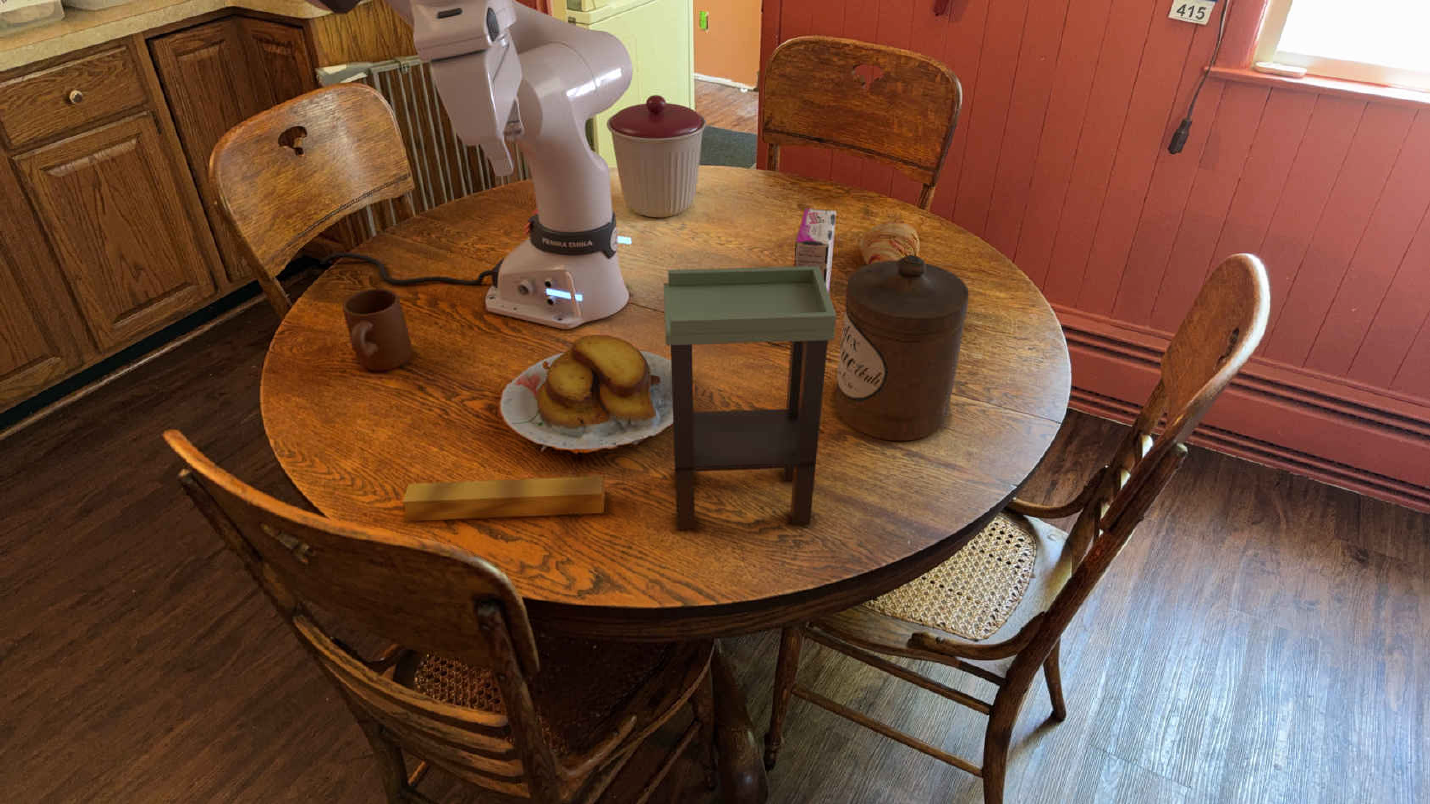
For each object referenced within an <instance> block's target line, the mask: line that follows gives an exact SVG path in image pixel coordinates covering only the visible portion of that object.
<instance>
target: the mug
mask: <svg viewBox="0 0 1430 804" xmlns="http://www.w3.org/2000/svg"><path fill="white" fill-rule="evenodd" d="M342 310H343V311H342V312H343V316H344V320H345V324H346V327H347V331H348V334H349V337H350V341H351V347H352V350H353V352H354V354H355V356H356V360H357V362H358V364H359V365H360V366H361V367H362V368H363V369H365V370H368V371H372V372H386V371H392V370H394V369H397V368H399V367H401V366H403V365H405V364H406V363H407V362H408V361H409V360H410V359H411V357H412V355H413V346H412V342H411V338H410V334H409V329H408V325H407V321H406V317H405V313H404V309H403V305H402V303H401V300H400V297H399V295H398V294H397V293H396V292H395V291H393V290H391V289H387V288H370V289H366V290H361V291H358V292H356V293H354V294H351V295H350V296H348V297H347V298H346V299H345V300H344V302H343V303H342Z"/></svg>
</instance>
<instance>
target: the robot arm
mask: <svg viewBox="0 0 1430 804" xmlns="http://www.w3.org/2000/svg"><path fill="white" fill-rule="evenodd" d="M304 1H305V2H306V3H308V4H309V5H311V6H312V7H314V8H317V9H319V10H323V11H324V12H325V11H326V12H331V13H333V14H335V15H347V14H349V13H350V12H351V11H353V10H354V9H355V8H356V7H357V6H358V5H359V4H360V3H361V2H362V0H304ZM383 1H384V2H385V3H386V4H387V6H388V7H390V9H391V10H393V12H394V13H395V14H396V15H397V16H398V17H399V18H400V19H401V20H402V21H404V22H405V23H406V24H407V26H409V27H410V28H411V29H412V30H413V35H412V39H413V40H412V41H413V45H414V48H415V51H416V54H417V56H418V58H419V60H420V61H421V62H429V67H430V73H431V77H432V79H433V82H434V85H435V87H436V90H437V93H438V95H439V97H440V100H441V102H442V104H443V107H444V110H445V111H446V114H447V117H448V118H449V121H450V123H451V125H452V127H453V130H454V131H455V134H456V135H457V136H458V138H459V139H460V141H461V142H462V143H463V144H464V146H466V147H475V146H478V145H479V146H480V148H481V150H482V151H483V153H484V154H485V155H486V157H487V158H488V160H489V161H490V164H491V167H492V170H493V172H494V175H495V176H496V177H506V176H510V175H512V174H513V172H514V170H515V169H514V168H515V162H514V160H513V155H512V153H511V151H510V150H508V148H507V145H506V142H505V139H506V140H507V142H511V143H514V144H515V145H516V146H517V147H518V148H519V150H520V151H521V153H522V155H523V156H524V158H525V161H526V163H527V165H528V168H529V172H530V174H531V179H532V185H533V190H534V197H535V205H536V208H535V209H533V212H532V213H533V214H532V216H531V217H530V218H528V219H527V224H526V225H525V226H524V228H523V231H524V236H525V237H526V236H527V235H529V237H527V238H526V239H525V240H524V241H522V242H521V243H519V244H518V245H517V246H516V247H514V248H513V249H512V250H511V251H510V252H509V253H507V255H506V256H505V258H502V259H501V260H499V261H498V262H497V264H495V266H493V268H492V269H489V270H485V271H482V272H480V273H479V275H478V277H477V279H473V280H463V279H458V278H454V277H448V276H424V277H416V278H408V279H397V278H392V277H389V276H388V275H387V274H386V270H385V266H384V264H383V263H382V261H380V260H379V259H377V258H373V257H371V256H367V255H363V254H359V253H353V252H352V253H351V252H336V253H332V254H329V255H327V256H325V257H323V258H322V259H321V261H320V265H326V264H328V263H329V262H330V261H332V260H335V259H342V258H343V259H344V258H345V259H354V260H360V261H364V262H367V263H370V264H374V265H376V266H377V267H378V270H379V275H380V278H381V279H382V280H383V281H384V282H387V283H388V284H392V285H398V286H399V285H401V286H404V285H405V286H406V285H415V284H423V283H433V282H434V283H435V282H436V283H437V282H438V283H439V282H440V283H448V284H453V285H461V286H477V285H480V284H482V283H483V281H484V279H485V277H488V276H490V277H491V283H492V285H491V286H490V288H489V289H488V291H487V293H486V296H485V309H486V311H487V312H489V313H493V314H497V315H502V316H505V317H506V316H507V317H509V318H514V319H519V320H524V321H526V322H531V323H534V324H535V323H536V324H539V325H544V326H547V327H553V328H555V329H556V328H557V329H561V330H571V329H574V328H576V327H578V326H581V325H583V324H585V323H588V322H593V321H598V320H601V319H605V318H608V317H610V316H613V315H614V314H616V313H618V312H619V311H621V310H622V309H623V308H624V307H625V306H626V305H627V303H628V302H629V298H630V293H629V291H628V289H627V285H626V282H625V281H624V277H623V273H622V271H621V267H620V262H619V257H618V247H619V243H620V244H628V245H631V244H632V237H627V236H619V231H618V225H617V219H616V213H615V212H614V210H613V202H612V201H613V200H612V188H611V186H612V185H611V175H610V168H609V165H608V162H607V161H606V160H605V158H604V157H602V155H600V154H599V153H597V152H595V151H594V150H592V149H591V147H590V144H589V142H588V139H587V134H586V123H587V121H588V120H590V119H592V118H594V117H596V116H598V115H600V114H602V113H603V112H605V111H607V110H609V109H611V108H612V107H613V106H614V105H615V104H616V103H617V102H618V101H619V100H620V99H621V98H622V96H624V94H625V93H626V92H627V90H628V89H629V87H630V86H631V83H632V80H633V63H632V59H631V56H630V53H629V52H628V50H627V48H626V46H625V45H624V43H623V42H622V41H621V40H620V39H619V38H618V37H617V36H615V34H612V33H610V32H607V31H605V30H596V29H590V28H585V27H582V26H578V25H575V24H572V23H570V22H567V21H565V20H562V19H559V18H557V17H554V16H552V15H549V14H547V13H544V12H542V11H539V10H536V9H535V8H532V7H529V6H527V5H524V4H523V3H521V2H519V1H516V0H383Z"/></svg>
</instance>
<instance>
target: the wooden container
mask: <svg viewBox="0 0 1430 804" xmlns="http://www.w3.org/2000/svg"><path fill="white" fill-rule="evenodd" d="M969 293H970V292H969V288H968V286H967V284H966V283H965V282H964V281H963V280H962V279H961V278H960V277H958V276H957V275H956V274H954V272H950V271H948V270H947V269H944V268H942V267H939V266H937V265H933V264H929V263H926V262H925V261H924V260H923V259H922V258H921V257H919V256H915V255H908V256H906V257H903V258H901V259H900V260H888V261H880V262H875V263H871V264H868V265H867V264H865V265H863V266H861V267H859V268H857V269H856V270H854V271H853V272H852V273H851V274H850V276H849V278H848V279H847V284H846V292H845V303H844V305H845V307H844V309H845V310H844V315H843V323H842V324H843V325H842V333H841V340H840V347H839V355H838V364H837V374H836V387H835V397H834V398H835V399H834V404H835V408H836V412H837V413H838V415H839V417H840V418H841V419H842V420H843V421H844V422H845V423H846V424H847V425H848V426H850V427H851V428H853V429H855V430H856V431H858V432H860V433H862V434H864V435H867V436H870V437H873V438H876V439H882V440H887V441H899V442H900V441H913V440H919V439H922V438H925V437H928V436H931V435H932V434H933V433H936V432H937V431H938V430H940V428H941V427H942V426H943V425H944V424H945V422H946V420H947V417H948V413H949V407H950V402H951V397H952V394H953V388H954V384H955V379H956V373H957V367H958V363H959V362H958V361H959V355H960V349H961V344H962V338H963V332H964V326H965V320H966V317H967V312H968V307H969V297H970V294H969Z"/></svg>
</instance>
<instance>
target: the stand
mask: <svg viewBox="0 0 1430 804" xmlns="http://www.w3.org/2000/svg"><path fill="white" fill-rule="evenodd" d="M667 276H668V278H667V280H668V282H665V283H663V303H664V304H663V305H664V306H663V309H664V337H665V339H664V340H665V346H670V360H671V371H672V401H673V423H672V427H673V430H672V431H673V455H674V456H673V457H674V458H673V459H674V461H673V462H674V485H675V511H676V512H675V513H676V530H677V531H690V530H695V529H696V516H695V515H696V513H695V512H696V508H695V506H696V505H695V503H696V501H695V473H696V472H718V471H719V472H720V471H749V470H770V469H771V470H773V469H781V472H782V477H783V480H784V482H792V484H791V485H792V486H791V487H792V488H791V500H790V512H789V514H790V519H791V524H792V526H803V525H804V526H807V525H810V524H811V519H812V509H813V498H814V488H815V478H816V467H817V458H818V457H817V456H818V446H819V435H820V426H821V417H822V416H821V414H822V406H823V395H824V385H825V376H826V364H827V354H828V343H829V341H834V340H835V335H836V334H835V333H836V325H837V314H836V311H835V308H834V305H833V302H832V299H831V296H830V292H829V293H828V290H827V287H826V284H825V281H824V278H823V275H822V273H821V270H820V267H819V266H796V267H794V266H765V267H764V266H763V267H728V268H727V267H726V268H691V269H690V268H689V269H668V270H667ZM782 342H783V343H785V342H790V345H789V361H788V362H789V363H788V374H787V378H788V379H787V392H786V407H785V408H773V409H770V408H769V409H747V410H745V409H744V410H743V409H742V410H720V411H718V410H717V411H714V410H713V411H694V401H693V384H694V381H693V377H694V376H693V375H694V374H693V370H694V369H693V346H694V345H718V344H719V345H720V344H721V345H724V344H753V343H754V344H755V343H756V344H757V343H782Z"/></svg>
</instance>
